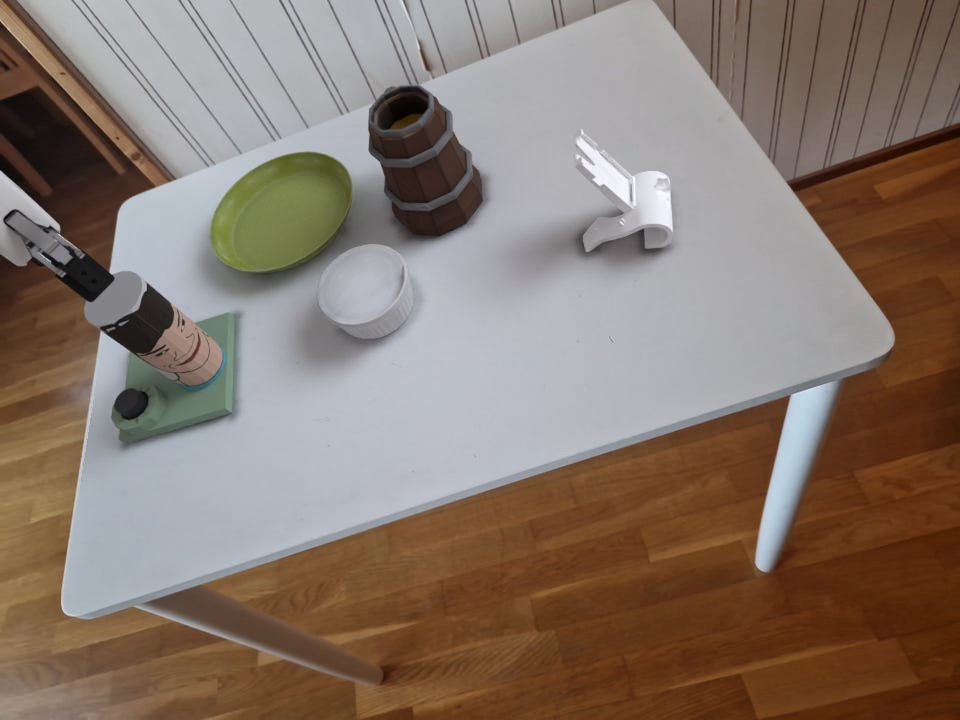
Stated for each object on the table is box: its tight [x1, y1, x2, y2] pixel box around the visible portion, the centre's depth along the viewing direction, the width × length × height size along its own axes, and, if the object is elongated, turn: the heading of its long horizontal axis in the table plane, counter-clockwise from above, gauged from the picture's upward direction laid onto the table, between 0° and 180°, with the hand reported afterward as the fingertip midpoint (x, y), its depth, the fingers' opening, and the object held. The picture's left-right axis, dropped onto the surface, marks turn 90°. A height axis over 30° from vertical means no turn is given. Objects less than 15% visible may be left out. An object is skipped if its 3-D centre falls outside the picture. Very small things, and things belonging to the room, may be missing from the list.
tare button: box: [113, 388, 148, 419], centre depth 78 cm, size 3×3×2 cm
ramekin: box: [316, 243, 415, 340], centre depth 78 cm, size 11×11×5 cm
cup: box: [83, 270, 226, 391], centre depth 75 cm, size 7×7×15 cm
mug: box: [367, 84, 484, 236], centre depth 81 cm, size 16×12×15 cm
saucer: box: [209, 151, 354, 274], centre depth 90 cm, size 21×21×3 cm
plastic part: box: [573, 128, 674, 253], centre depth 72 cm, size 8×10×12 cm
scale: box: [110, 312, 236, 445], centre depth 82 cm, size 14×14×3 cm
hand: (76, 272), depth 64 cm, fingers open, 9 cm apart
